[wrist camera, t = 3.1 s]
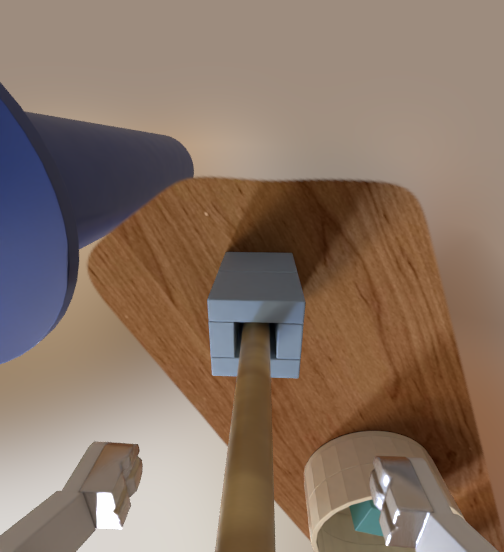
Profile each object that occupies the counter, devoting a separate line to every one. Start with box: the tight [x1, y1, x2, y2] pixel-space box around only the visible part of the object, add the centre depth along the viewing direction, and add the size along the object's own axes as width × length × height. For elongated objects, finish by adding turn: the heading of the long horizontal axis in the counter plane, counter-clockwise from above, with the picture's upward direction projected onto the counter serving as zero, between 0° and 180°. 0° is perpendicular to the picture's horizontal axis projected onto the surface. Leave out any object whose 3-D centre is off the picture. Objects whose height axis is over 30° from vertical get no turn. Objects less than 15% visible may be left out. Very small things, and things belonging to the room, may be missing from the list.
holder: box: [207, 252, 305, 378], centre depth 20 cm, size 5×5×8 cm
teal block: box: [349, 499, 384, 537], centre depth 30 cm, size 4×4×4 cm
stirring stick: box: [215, 322, 275, 552], centre depth 13 cm, size 2×2×15 cm
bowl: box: [304, 431, 465, 552], centre depth 30 cm, size 14×14×6 cm
